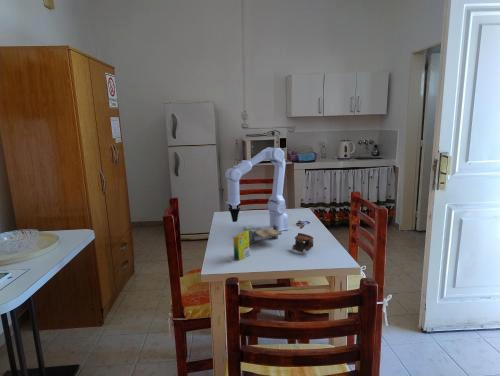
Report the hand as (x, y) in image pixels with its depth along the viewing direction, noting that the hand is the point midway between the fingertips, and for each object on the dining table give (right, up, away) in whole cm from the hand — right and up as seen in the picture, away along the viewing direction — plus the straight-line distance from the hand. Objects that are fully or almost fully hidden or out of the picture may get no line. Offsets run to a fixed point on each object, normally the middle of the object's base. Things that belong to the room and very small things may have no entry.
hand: (234, 219), depth 165 cm
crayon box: (+4, -14, -22) cm, 27 cm away
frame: (+13, -10, -1) cm, 17 cm away
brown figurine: (+31, -14, -17) cm, 38 cm away
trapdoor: (+15, -8, -5) cm, 17 cm away
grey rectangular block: (+7, -10, +3) cm, 12 cm away
